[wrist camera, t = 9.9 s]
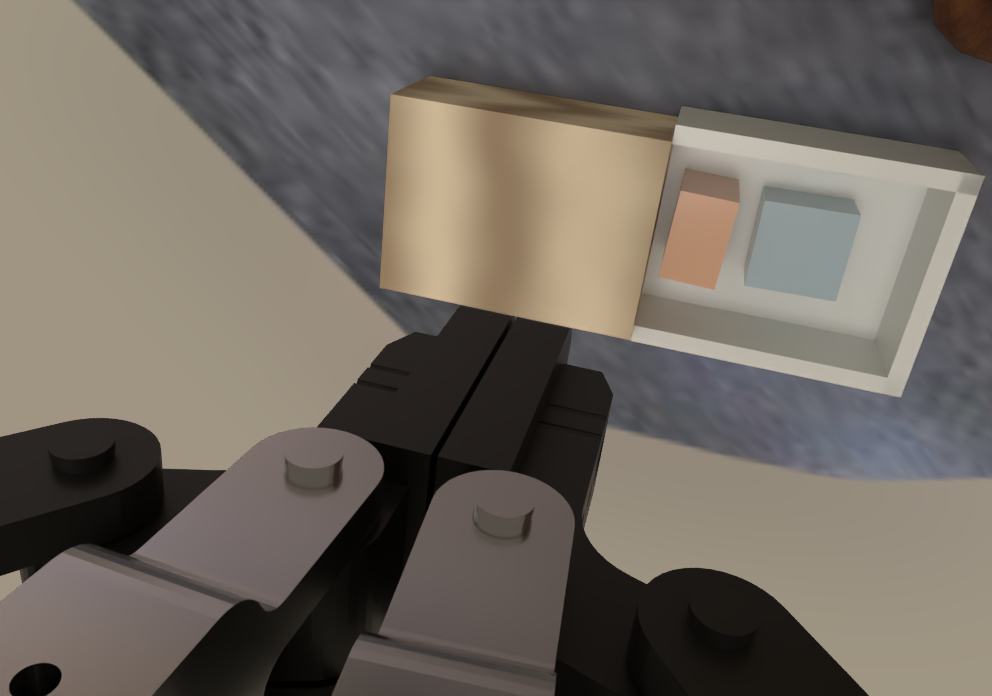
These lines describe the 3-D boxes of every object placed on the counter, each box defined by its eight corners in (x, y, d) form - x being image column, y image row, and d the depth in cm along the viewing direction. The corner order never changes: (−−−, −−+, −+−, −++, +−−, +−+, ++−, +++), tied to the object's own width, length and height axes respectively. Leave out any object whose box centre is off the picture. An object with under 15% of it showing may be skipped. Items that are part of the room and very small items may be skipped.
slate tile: (765, 200, 37) (763, 185, 39) (744, 285, 39) (743, 267, 41) (861, 215, 36) (853, 199, 39) (835, 301, 38) (830, 281, 40)
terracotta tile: (685, 168, 40) (739, 179, 39) (664, 248, 42) (716, 260, 41) (680, 190, 36) (739, 203, 36) (658, 276, 38) (714, 289, 38)
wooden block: (679, 116, 39) (671, 141, 35) (641, 295, 44) (630, 340, 39) (430, 75, 41) (390, 94, 37) (417, 250, 46) (379, 287, 41)
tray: (958, 150, 37) (985, 176, 33) (884, 354, 42) (900, 397, 38) (681, 105, 39) (675, 124, 35) (640, 304, 44) (630, 340, 40)
